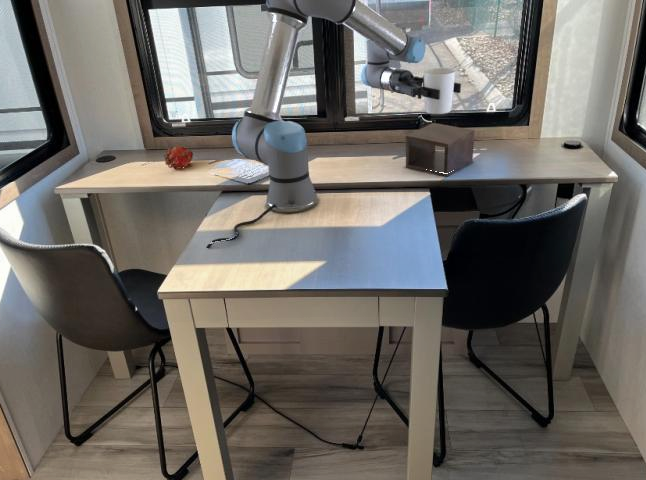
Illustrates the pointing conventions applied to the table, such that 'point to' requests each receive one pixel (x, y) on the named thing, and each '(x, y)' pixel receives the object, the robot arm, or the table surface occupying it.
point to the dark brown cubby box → (426, 157)
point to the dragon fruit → (178, 157)
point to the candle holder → (444, 83)
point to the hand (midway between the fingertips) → (449, 91)
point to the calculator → (244, 168)
